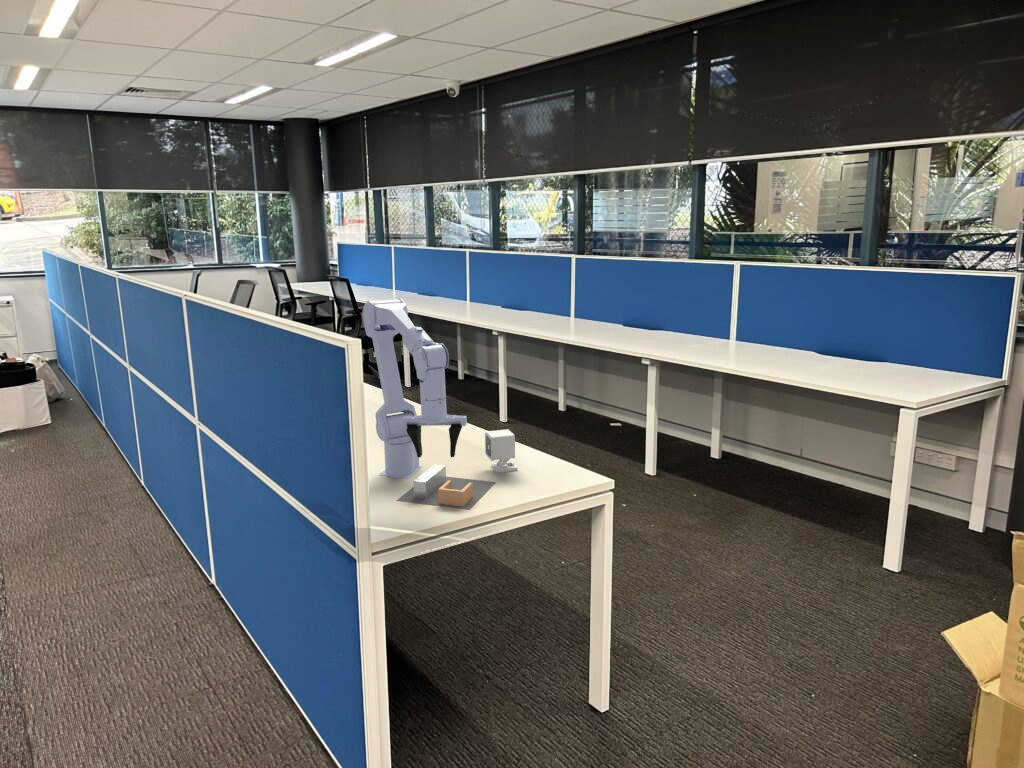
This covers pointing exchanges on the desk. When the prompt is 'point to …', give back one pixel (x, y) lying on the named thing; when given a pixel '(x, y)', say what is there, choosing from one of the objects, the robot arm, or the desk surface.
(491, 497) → the desk surface
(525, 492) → the desk surface
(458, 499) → the tan notched holder
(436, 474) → the aluminium rail
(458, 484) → the mat
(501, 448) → the security camera
